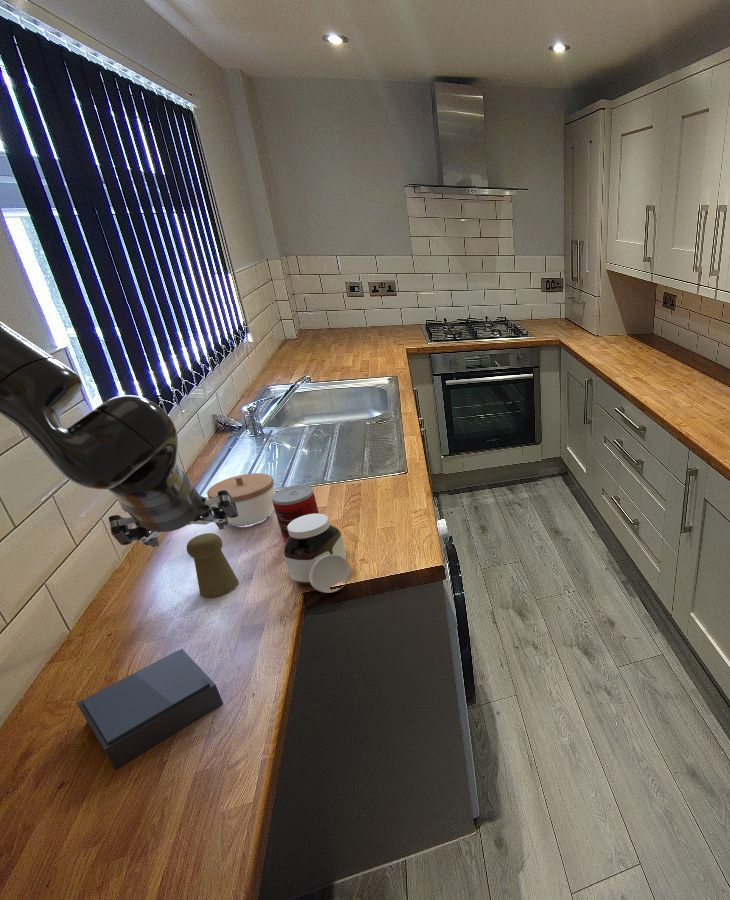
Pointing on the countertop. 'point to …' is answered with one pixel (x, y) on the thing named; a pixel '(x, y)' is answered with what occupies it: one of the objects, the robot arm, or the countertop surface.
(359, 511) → the countertop surface
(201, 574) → the cork
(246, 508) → the lidded bowl
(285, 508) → the canned food
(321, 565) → the spread jar
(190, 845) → the countertop surface
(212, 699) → the rectangular box
